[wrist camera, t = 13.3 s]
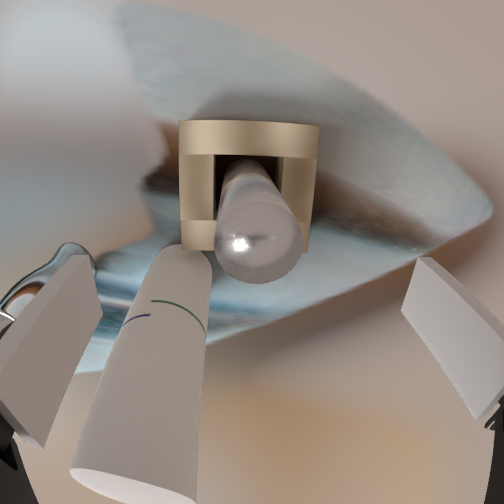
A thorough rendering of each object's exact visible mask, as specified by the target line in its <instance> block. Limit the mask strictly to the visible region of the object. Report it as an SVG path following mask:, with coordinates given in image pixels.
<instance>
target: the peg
mask: <svg viewBox="0 0 504 504" xmlns="http://www.w3.org/2000/svg"><path fill="white" fill-rule="evenodd" d="M302 247H303V235H302V231H301V228H300V226H299V224H298V222H297V220H296V219H295V217H294V215H293V214H292V212H291V210H290V209H289V207H288V206H287V204H286V202H285V201H284V199H283V197H282V196H281V194H280V193H279V191H278V190H277V188H276V186H275V185H274V183H273V182H272V180H271V179H270V177H269V175H268V174H267V172H266V171H265V169H264V168H263V166H262V165H261V164H259V163H258V162H256V161H254V160H251V159H240V160H237V161H235V162H233V163H232V164H231V165H230V166H229V167H228V168H227V170H226V172H225V175H224V180H223V186H222V192H221V198H220V204H219V210H218V217H217V223H216V230H215V236H214V251H215V256H216V258H217V261H218V262H219V264H220V266H221V267H222V268H223V269H224V270H225V271H226V272H227V273H228V274H229V275H230V276H232V277H233V278H235V279H237V280H240V281H242V282H246V283H252V284H262V283H268V282H271V281H274V280H277V279H279V278H281V277H282V276H284V275H285V274H287V273H288V272H289V271H290V270H291V269H292V268H293V267H294V266H295V264H296V263H297V261H298V259H299V257H300V255H301V252H302Z"/></svg>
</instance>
